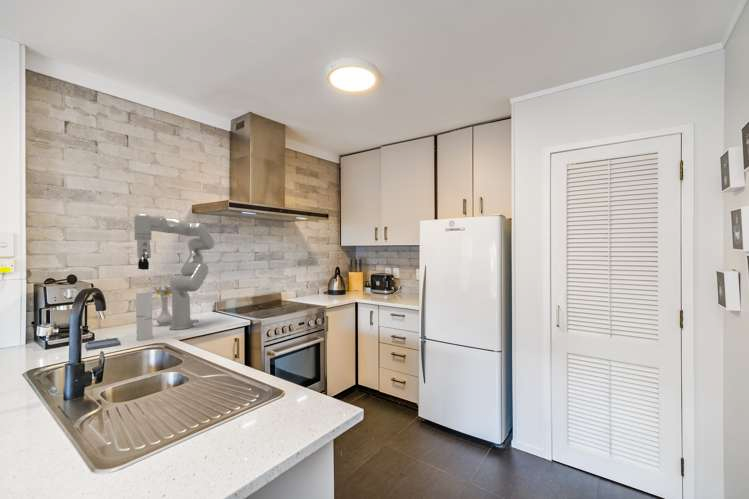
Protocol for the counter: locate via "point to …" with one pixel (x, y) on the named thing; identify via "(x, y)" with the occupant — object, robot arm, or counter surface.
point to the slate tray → (102, 343)
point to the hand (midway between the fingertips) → (143, 269)
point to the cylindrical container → (144, 315)
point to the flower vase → (163, 305)
